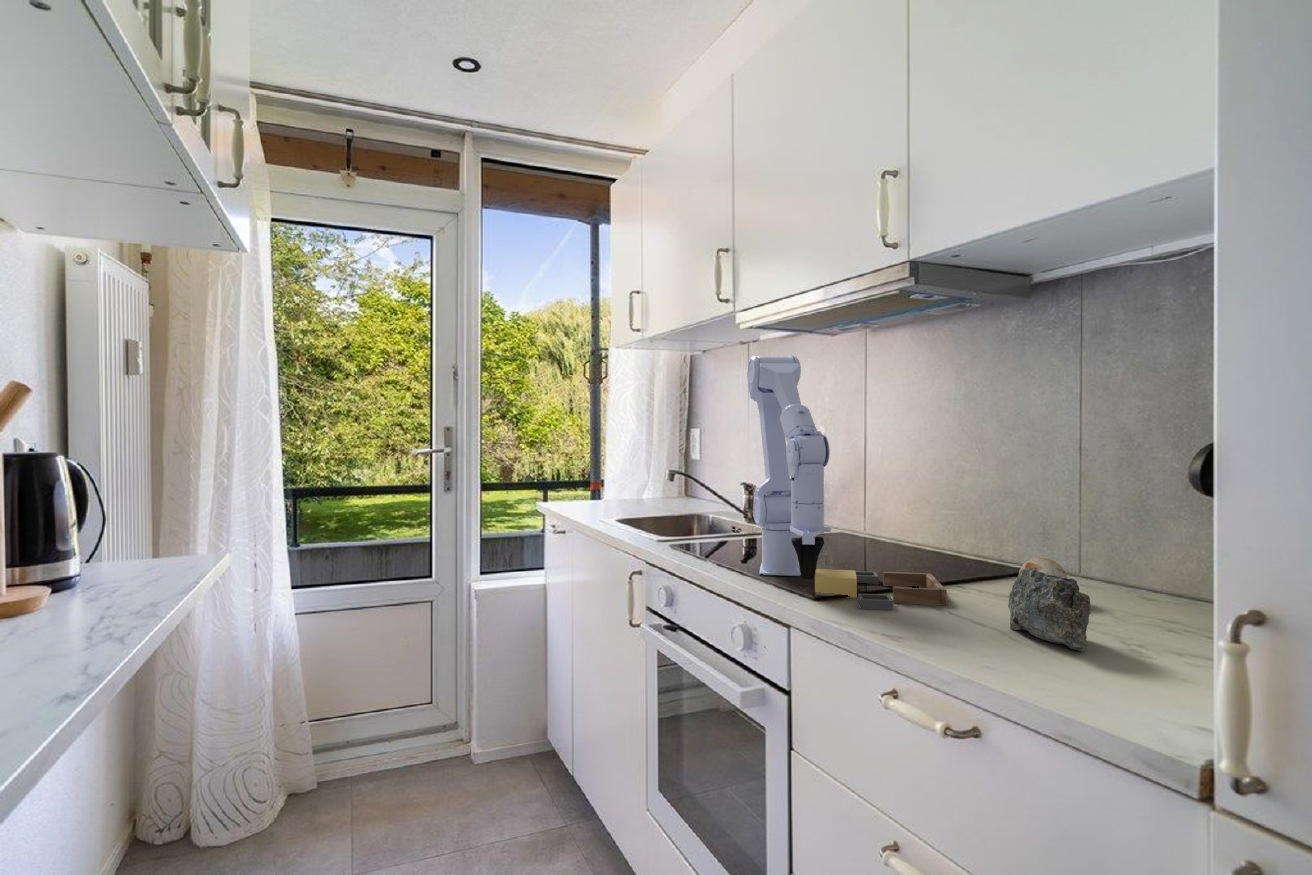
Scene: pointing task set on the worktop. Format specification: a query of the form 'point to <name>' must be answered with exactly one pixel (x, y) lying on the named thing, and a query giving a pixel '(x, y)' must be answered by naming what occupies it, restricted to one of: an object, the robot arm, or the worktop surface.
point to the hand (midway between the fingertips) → (807, 578)
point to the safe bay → (925, 594)
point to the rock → (1050, 608)
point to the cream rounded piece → (1045, 566)
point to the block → (836, 582)
